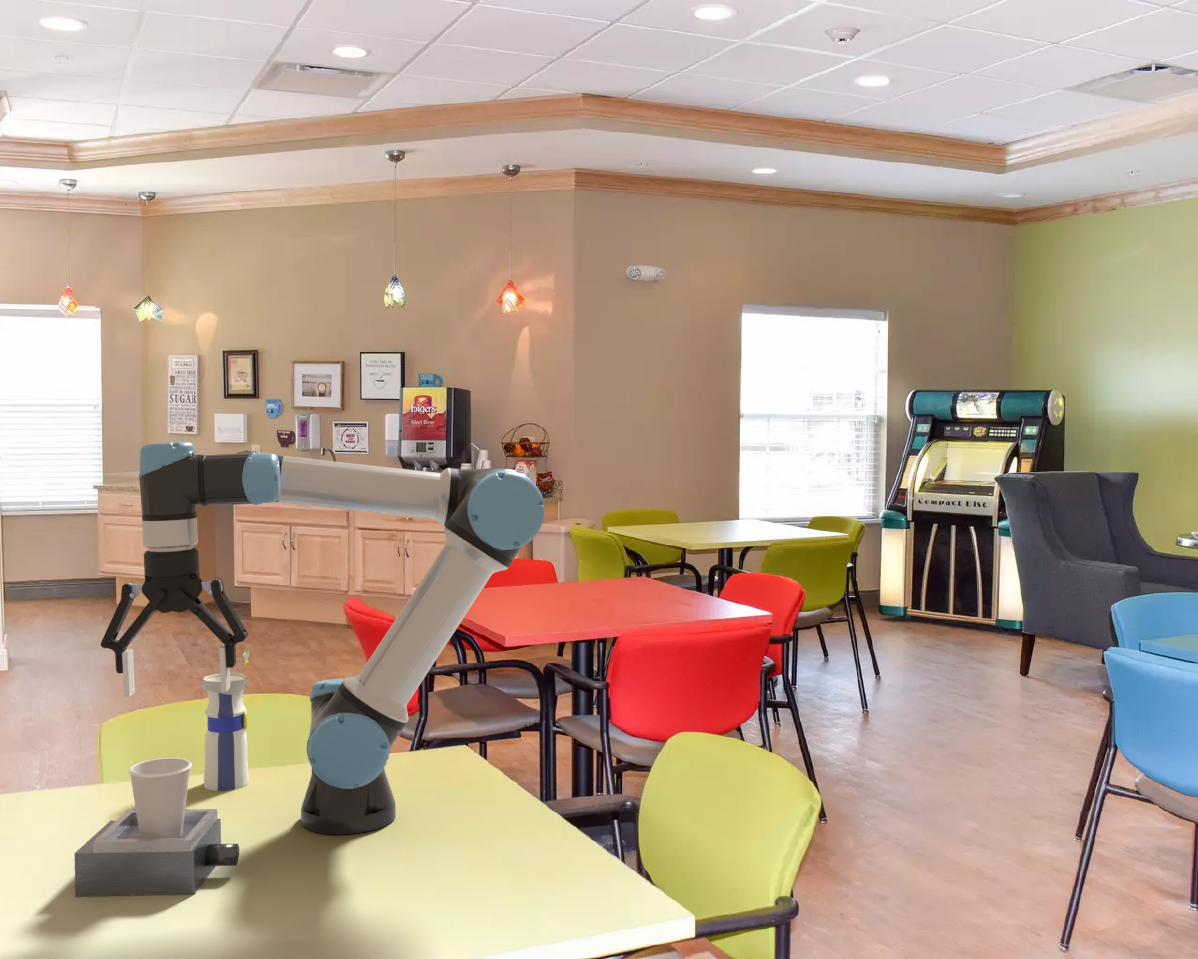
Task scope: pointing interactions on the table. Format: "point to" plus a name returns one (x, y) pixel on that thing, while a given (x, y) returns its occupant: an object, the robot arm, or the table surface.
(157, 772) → the dixie cup
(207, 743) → the white blue vase
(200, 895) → the table surface
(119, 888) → the block
